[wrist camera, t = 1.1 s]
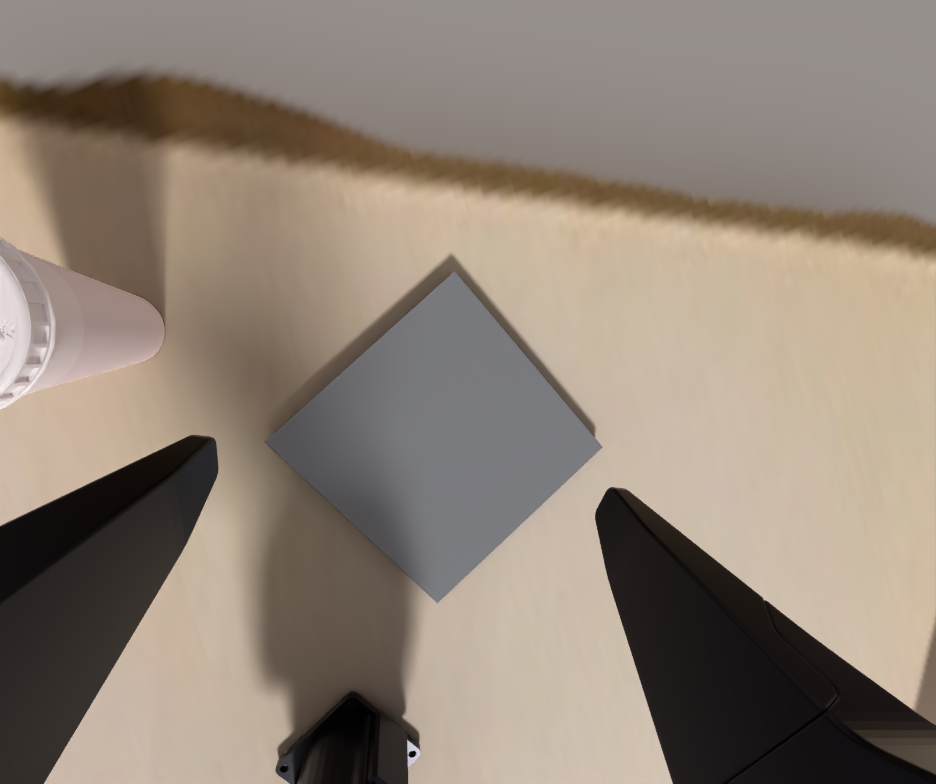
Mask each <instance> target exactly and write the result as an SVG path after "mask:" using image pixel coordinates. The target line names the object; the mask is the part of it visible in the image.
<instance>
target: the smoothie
mask: <svg viewBox="0 0 936 784" xmlns="http://www.w3.org/2000/svg"><path fill="white" fill-rule="evenodd" d="M164 337H165V327H164V322H163V320H162V317H161V315H160V314H159V312H158V311H157V309H156V308H155V307H154V306H153V305H152V304H151V303H149V302H148V301H146V300H145V299H143V298H141V297H139V296H136V295H134V294H131V293H129V292H126V291H123V290H121V289H118V288H116V287H113V286H110V285H108V284H105V283H103V282H100V281H97V280H95V279H92V278H90V277H87V276H85V275H82V274H79V273H77V272H74V271H72V270H69V269H66V268H64V267H61V266H59V265H56V264H53V263H51V262H48V261H46V260H43V259H40V258H38V257H35V256H33V255H30V254H28V253H26V252H23V251H21V250H18V249H16V248H15V247H14V246H13V245H11V244H10V243H9V242H7V241H6V240H4V239H3V238H1V237H0V409H2V408H5V407H8V406H9V405H10V404H12V403H13V402H15V401H16V400H18V399H19V398H20V397H22V396H23V395H25V394H29V393H33V392H36V391H39V390H42V389H46V388H50V387H53V386H57V385H61V384H64V383H68V382H72V381H75V380H79V379H83V378H86V377H90V376H94V375H97V374H101V373H105V372H108V371H112V370H116V369H119V368H123V367H127V366H130V365H134V364H138V363H141V362H144V361H146V360H148V359H150V358H151V357H153V356H154V355H155V354H156V353H157V352H158V351H159V349H160V348H161V346H162V344H163V341H164Z"/></svg>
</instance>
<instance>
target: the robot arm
mask: <svg viewBox="0 0 936 784" xmlns="http://www.w3.org/2000/svg"><path fill="white" fill-rule="evenodd" d="M217 474H218V458H217V446H216V441H215V439H214V438H212V437H208V436H200V435H191V436H188V437H186V438H184V439H182V440H180V441H177V442H175V443H173V444H171V445H169V446H167V447H165V448H163V449H161V450H159V451H156V452H154V453H152V454H150V455H148V456H146V457H144V458H142V459H140V460H138V461H135V462H133V463H131V464H129V465H127V466H125V467H123V468H121V469H119V470H117V471H114V472H112V473H110V474H108V475H106V476H104V477H102V478H100V479H98V480H95V481H93V482H91V483H89V484H87V485H85V486H83V487H81V488H79V489H77V490H74V491H72V492H70V493H68V494H66V495H64V496H62V497H60V498H58V499H56V500H53V501H51V502H49V503H47V504H45V505H43V506H41V507H39V508H37V509H35V510H32V511H30V512H28V513H26V514H24V515H22V516H20V517H18V518H16V519H14V520H11V521H9V522H7V523H5V524H3V525H1V526H0V784H44V782H45V781H46V779H47V777H48V776H49V774H50V772H51V771H52V769H53V767H54V766H55V764H56V762H57V761H58V759H59V757H60V756H61V754H62V752H63V751H64V749H65V747H66V746H67V744H68V742H69V741H70V739H71V737H72V735H73V734H74V732H75V730H76V729H77V727H78V725H79V724H80V722H81V720H82V719H83V717H84V715H85V714H86V712H87V710H88V709H89V707H90V705H91V704H92V702H93V700H94V699H95V697H96V695H97V694H98V692H99V690H100V689H101V687H102V685H103V684H104V682H105V680H106V679H107V677H108V675H109V674H110V672H111V670H112V668H113V667H114V665H115V663H116V662H117V660H118V658H119V657H120V655H121V653H122V652H123V650H124V648H125V647H126V645H127V643H128V642H129V640H130V638H131V637H132V635H133V633H134V632H135V630H136V628H137V627H138V625H139V623H140V622H141V620H142V618H143V617H144V615H145V613H146V612H147V610H148V608H149V607H150V605H151V603H152V601H153V600H154V598H155V596H156V595H157V593H158V591H159V590H160V588H161V586H162V585H163V583H164V581H165V580H166V578H167V576H168V575H169V573H170V571H171V570H172V568H173V566H174V565H175V563H176V561H177V560H178V558H179V556H180V554H181V553H182V551H183V549H184V547H185V546H186V544H187V542H188V539H189V537H190V535H191V533H192V531H193V529H194V527H195V524H196V522H197V520H198V518H199V516H200V513H201V511H202V509H203V507H204V504H205V502H206V500H207V498H208V496H209V493H210V491H211V489H212V487H213V484H214V482H215V480H216V478H217ZM595 520H596V525H597V530H598V535H599V539H600V544H601V549H602V554H603V558H604V563H605V568H606V572H607V576H608V580H609V583H610V587H611V590H612V593H613V596H614V600H615V603H616V606H617V609H618V612H619V615H620V618H621V622H622V625H623V628H624V631H625V634H626V637H627V640H628V644H629V647H630V650H631V653H632V656H633V659H634V663H635V666H636V669H637V672H638V675H639V678H640V681H641V685H642V688H643V691H644V694H645V697H646V700H647V703H648V707H649V710H650V713H651V716H652V719H653V722H654V726H655V729H656V732H657V735H658V738H659V741H660V744H661V748H662V751H663V754H664V757H665V760H666V763H667V766H668V770H669V773H670V776H671V779H672V782H673V784H936V725H934V724H933V723H931V722H929V721H928V720H926V719H925V718H923V717H922V716H921V715H919V714H918V713H916V712H915V711H913V710H912V709H911V708H909V707H908V706H907V705H905V704H904V703H902V702H901V701H900V700H898V699H897V698H896V697H894V696H893V695H891V694H890V693H889V692H887V691H886V690H885V689H883V688H882V687H880V686H879V685H878V684H876V683H875V682H874V681H872V680H871V679H869V678H868V677H867V676H865V675H864V674H863V673H861V672H860V671H858V670H857V669H856V668H854V667H853V666H852V665H850V664H849V663H847V662H846V661H845V660H843V659H842V658H841V657H839V656H838V655H837V654H835V653H834V652H833V651H831V650H830V649H828V648H827V647H826V646H824V645H823V644H822V643H820V642H819V641H818V640H816V639H815V638H814V637H812V636H811V635H810V634H808V633H807V632H806V631H804V630H803V629H802V628H801V627H799V626H798V625H797V624H795V623H794V622H793V621H792V620H790V619H789V618H788V617H786V616H785V615H784V614H783V613H781V612H780V611H779V610H778V609H776V608H775V607H774V606H773V605H771V604H770V603H769V602H768V601H766V600H763V598H762V597H761V596H760V595H759V594H757V593H756V592H755V591H754V590H752V589H751V588H750V587H749V586H747V585H746V584H745V583H744V582H742V581H741V580H740V579H739V578H737V577H736V576H735V575H734V574H732V573H731V572H730V571H729V570H727V569H726V568H725V567H724V566H722V565H721V564H720V563H719V562H717V561H716V560H715V559H713V558H712V557H711V556H710V555H708V554H707V553H706V552H705V551H703V550H702V549H701V548H700V547H698V546H697V545H696V544H695V543H693V542H692V541H691V540H690V539H688V538H687V537H686V536H685V535H683V534H682V533H681V532H680V531H678V530H677V529H676V528H675V527H673V526H672V525H671V524H670V523H668V522H667V521H666V520H665V519H663V518H662V517H661V516H660V515H658V514H657V513H656V512H654V511H653V510H652V509H651V508H649V507H648V506H647V505H646V504H644V503H643V502H642V501H641V500H639V499H638V498H637V497H636V496H634V495H633V494H632V493H631V492H629V491H628V490H626V489H623V488H615V487H611V488H609V489H608V490H607V491H606V493H605V495H604V497H603V498H602V500H601V502H600V504H599V506H598V508H597V510H596V514H595ZM351 701H353V702H354V703H349V702H351ZM411 751H412V752H411ZM419 756H420V745H419V743H418V742H417V741H415V740H414V739H413V738H412V737H410V736H409V735H408V734H407V732H406V731H404V730H403V729H402V728H401V727H399V726H398V725H397V724H396V723H395V722H393V721H392V720H391V719H390V718H388V717H387V716H386V715H385V714H384V713H382V712H380V711H379V710H377V709H376V708H375V707H374V706H373V705H371V704H370V703H369V702H368V701H366V700H365V699H364V698H363V697H362V696H360V695H359V694H358V693H356V692H352V693H349V694H347V695H346V696H345V697H344V698H343V699H342V700H341V701H340V702H339V703H338V704H336V705H335V706H334V707H333V708H332V709H331V710H330V711H329V712H328V713H327V714H326V715H325V716H324V717H323V718H322V719H321V720H320V721H318V722H317V723H316V724H315V725H314V726H313V727H312V728H311V729H310V730H309V731H308V732H307V733H306V734H305V735H304V736H303V737H302V738H301V739H299V740H298V741H297V742H296V743H295V744H294V745H293V746H292V747H291V748H290V749H289V750H288V751H287V752H286V753H285V754H284V755H283V756H281V757H280V759H279V760H278V763H277V766H276V773H277V774H278V775H279V776H280V777H282V778H283V779H284V780H286V781H287V782H289V783H290V784H408V767H409V766H410V765H411V764H412V763H413V762H414V761H416V760H417V759H418V757H419ZM283 765H286V766H283Z"/></svg>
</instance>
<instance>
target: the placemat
mask: <svg viewBox="0 0 936 784" xmlns="http://www.w3.org/2000/svg"><path fill="white" fill-rule="evenodd" d="M265 443H266V444H267V445H268V446H269V447H270V448H271V449H272V450H273V451H275V452H276V453H277V454H278V455H279V456H280V457H281V458H282V459H283V460H284V461H285V462H286V463H287V464H289V465H290V466H291V467H292V468H293V469H294V470H295V471H296V472H297V473H298V474H299V475H300V476H301V477H302V478H304V479H305V480H306V481H307V482H308V483H309V484H310V485H311V486H312V487H313V488H314V489H315V490H316V491H317V492H319V493H320V494H321V495H322V496H323V497H324V498H325V499H326V500H327V501H328V502H329V503H330V504H331V505H333V506H334V507H335V508H336V509H337V510H338V511H339V512H340V513H341V514H342V515H343V516H344V517H345V518H346V519H348V520H349V521H350V522H351V523H352V524H353V525H354V526H355V527H356V528H357V529H358V530H359V531H360V532H362V533H363V534H364V535H365V536H366V537H367V538H368V539H369V540H370V541H371V542H372V543H373V544H374V545H375V546H377V547H378V548H379V549H380V550H381V551H382V552H383V553H384V554H385V555H386V556H387V557H388V558H389V559H390V560H392V561H393V562H394V563H395V564H396V565H397V566H398V567H399V568H400V569H401V570H402V571H403V572H404V573H406V574H407V575H408V576H409V577H410V578H411V579H412V580H413V581H414V582H415V583H416V584H417V585H418V586H419V587H421V588H422V589H423V590H424V591H425V592H426V593H427V594H428V595H429V596H430V597H431V598H432V599H433V600H435V601H436V602H437V603H438V602H439V601H440V600H441V599H442V598H443V597H445V596H446V595H447V594H448V593H449V592H450V591H451V590H452V589H453V588H454V587H455V586H456V585H457V584H458V583H459V582H460V581H461V580H463V579H464V578H465V577H466V576H467V575H468V574H469V573H470V572H471V571H472V570H473V569H474V568H475V567H476V566H477V565H478V564H479V563H481V562H482V561H483V560H484V559H485V558H486V557H487V556H488V555H489V554H490V553H491V552H492V551H493V550H494V549H495V548H496V547H497V546H499V545H500V544H501V543H502V542H503V541H504V540H505V539H506V538H507V537H508V536H509V535H510V534H511V533H512V532H513V531H514V530H515V529H517V528H518V527H519V526H520V525H521V524H522V523H523V522H524V521H525V520H526V519H527V518H528V517H529V516H530V515H531V514H532V513H533V512H535V511H536V510H537V509H538V508H539V507H540V506H541V505H542V504H543V503H544V502H545V501H546V500H547V499H548V498H549V497H550V496H551V495H553V494H554V493H555V492H556V491H557V490H558V489H559V488H560V487H561V486H562V485H563V484H564V483H565V482H566V481H567V480H568V479H569V478H571V477H572V476H573V475H574V474H575V473H576V472H577V471H578V470H579V469H580V468H581V467H582V466H583V465H584V464H585V463H586V462H587V461H589V460H590V459H591V458H592V457H593V456H594V455H595V454H596V453H597V452H598V451H599V450H600V449H601V448H602V446H601V445H600V443H599V442H598V441H597V440H596V439H595V438H594V436H593V435H592V434H591V433H590V432H589V430H588V429H587V428H586V427H585V426H584V424H583V423H582V422H581V421H580V420H579V418H578V417H577V416H576V415H575V414H574V413H573V411H572V410H571V409H570V408H569V407H568V405H567V404H566V403H565V402H564V401H563V399H562V398H561V397H560V396H559V395H558V393H557V392H556V391H555V390H554V389H553V388H552V386H551V385H550V384H549V383H548V382H547V380H546V379H545V378H544V377H543V376H542V374H541V373H540V372H539V371H538V370H537V369H536V367H535V366H534V365H533V364H532V363H531V361H530V360H529V359H528V358H527V357H526V355H525V354H524V353H523V352H522V351H521V349H520V348H519V347H518V346H517V345H516V344H515V342H514V341H513V340H512V339H511V338H510V336H509V335H508V334H507V333H506V332H505V330H504V329H503V328H502V327H501V326H500V324H499V323H498V322H497V321H496V320H495V319H494V317H493V316H492V315H491V314H490V313H489V311H488V310H487V309H486V308H485V307H484V305H483V304H482V303H481V302H480V301H479V300H478V298H477V297H476V296H475V295H474V294H473V292H472V291H471V290H470V289H469V288H468V286H467V285H466V284H465V283H464V282H463V280H462V279H461V278H460V277H459V276H458V275H457V273H456V272H455V271H454V272H453V273H452V274H451V275H450V276H449V277H448V278H447V279H446V280H444V281H443V282H442V283H441V284H440V285H439V286H438V287H437V288H435V289H434V290H433V291H432V292H431V293H430V294H429V295H428V296H427V297H425V298H424V299H423V300H422V301H421V302H420V303H419V304H418V305H416V306H415V307H414V308H413V309H412V310H411V311H410V312H409V313H408V314H406V315H405V316H404V317H403V318H402V319H401V320H400V321H399V322H398V323H396V324H395V325H394V326H393V327H392V328H391V329H390V330H389V331H387V332H386V333H385V334H384V335H383V336H382V337H381V338H380V339H379V340H377V341H376V342H375V343H374V344H373V345H372V346H371V347H370V348H369V349H367V350H366V351H365V352H364V353H363V354H362V355H361V356H360V357H358V358H357V359H356V360H355V361H354V362H353V363H352V364H351V365H350V366H348V367H347V368H346V369H345V370H344V371H343V372H342V373H341V374H340V375H338V376H337V377H336V378H335V379H334V380H333V381H332V382H331V383H329V384H328V385H327V386H326V387H325V388H324V389H323V390H322V391H321V392H319V393H318V394H317V395H316V396H315V397H314V398H313V399H312V400H311V401H309V402H308V403H307V404H306V405H305V406H304V407H303V408H302V409H300V410H299V411H298V412H297V413H296V414H295V415H294V416H293V417H292V418H290V419H289V420H288V421H287V422H286V423H285V424H284V425H283V426H282V427H280V428H279V429H278V430H277V431H276V432H275V433H274V434H273V435H271V436H270V437H269V438H268V439H267V440H266V441H265Z"/></svg>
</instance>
